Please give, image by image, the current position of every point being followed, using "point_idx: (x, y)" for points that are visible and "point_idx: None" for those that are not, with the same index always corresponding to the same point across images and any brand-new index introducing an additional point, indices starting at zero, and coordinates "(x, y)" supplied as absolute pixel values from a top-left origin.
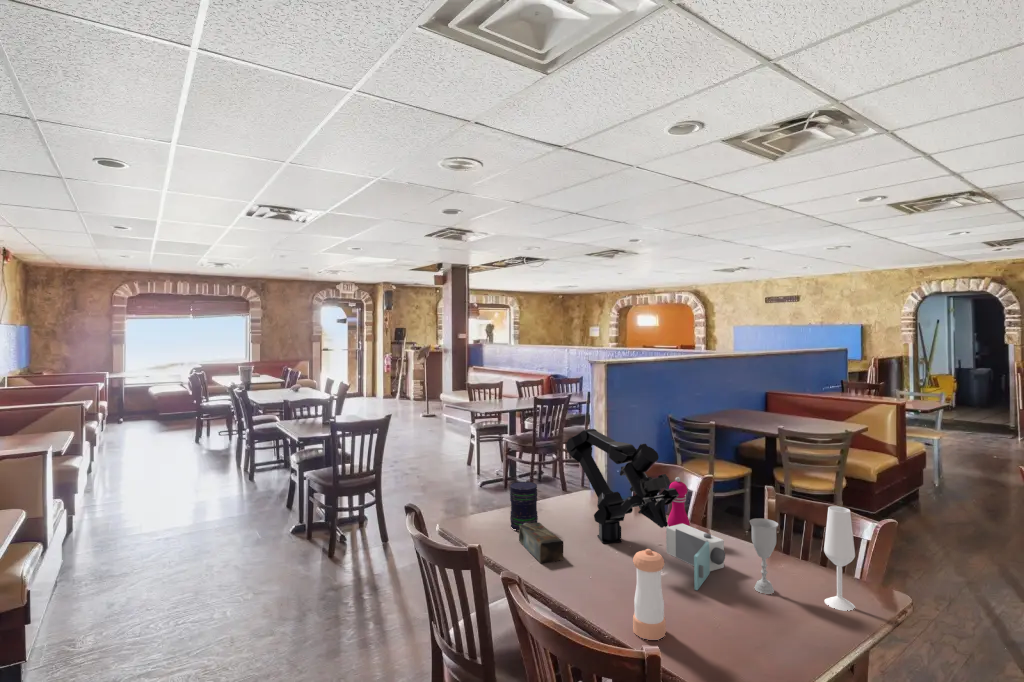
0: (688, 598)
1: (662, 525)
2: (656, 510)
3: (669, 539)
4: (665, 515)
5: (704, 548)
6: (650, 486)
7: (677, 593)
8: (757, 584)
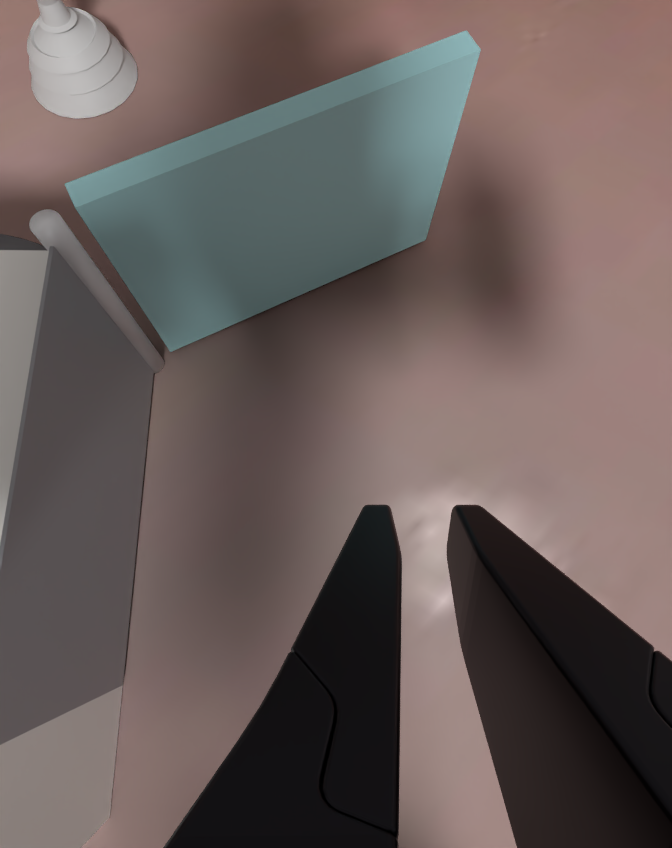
0: (523, 200)
1: (489, 515)
2: (652, 781)
3: (48, 827)
4: (324, 613)
5: (243, 119)
6: None
7: (541, 265)
8: (104, 60)
